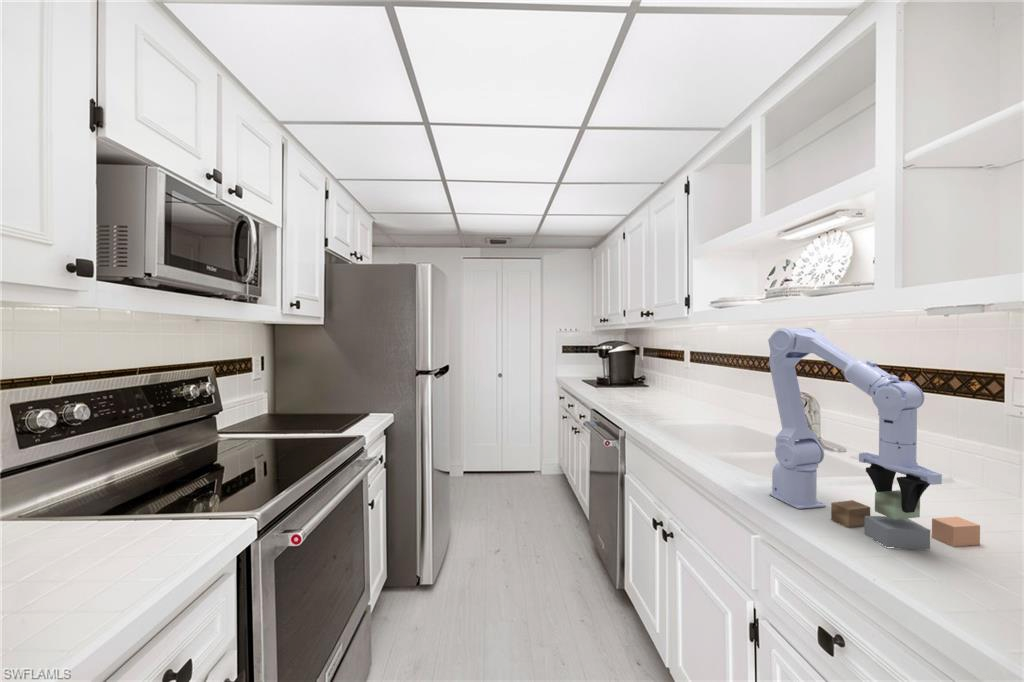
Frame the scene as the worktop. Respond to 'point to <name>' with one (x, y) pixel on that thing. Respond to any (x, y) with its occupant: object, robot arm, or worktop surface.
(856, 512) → the walnut brick
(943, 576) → the worktop surface
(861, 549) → the worktop surface
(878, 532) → the slate brick
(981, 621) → the worktop surface
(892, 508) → the sage brick
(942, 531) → the terracotta brick
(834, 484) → the worktop surface
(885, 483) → the robot arm
